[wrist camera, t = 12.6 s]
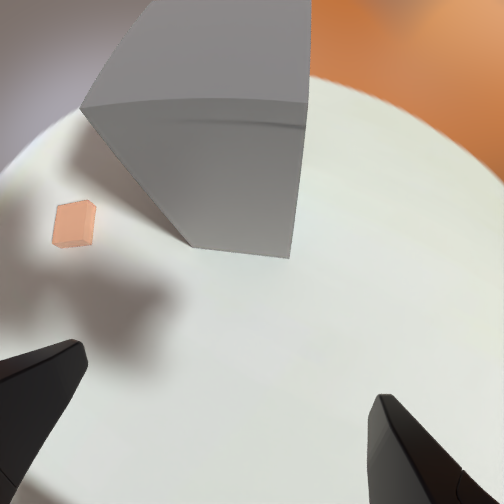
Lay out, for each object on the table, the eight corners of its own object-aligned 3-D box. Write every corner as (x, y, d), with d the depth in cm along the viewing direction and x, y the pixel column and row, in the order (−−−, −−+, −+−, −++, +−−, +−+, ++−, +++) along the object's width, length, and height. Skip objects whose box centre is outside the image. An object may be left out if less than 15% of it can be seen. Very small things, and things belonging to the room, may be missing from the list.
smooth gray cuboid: (289, 258, 19) (308, 103, 6) (192, 247, 19) (79, 108, 7) (297, 172, 20) (311, -6, 8) (210, 165, 21) (151, 1, 8)
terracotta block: (93, 246, 20) (82, 239, 19) (63, 249, 20) (51, 243, 19) (98, 208, 21) (88, 199, 20) (68, 213, 21) (58, 205, 20)
